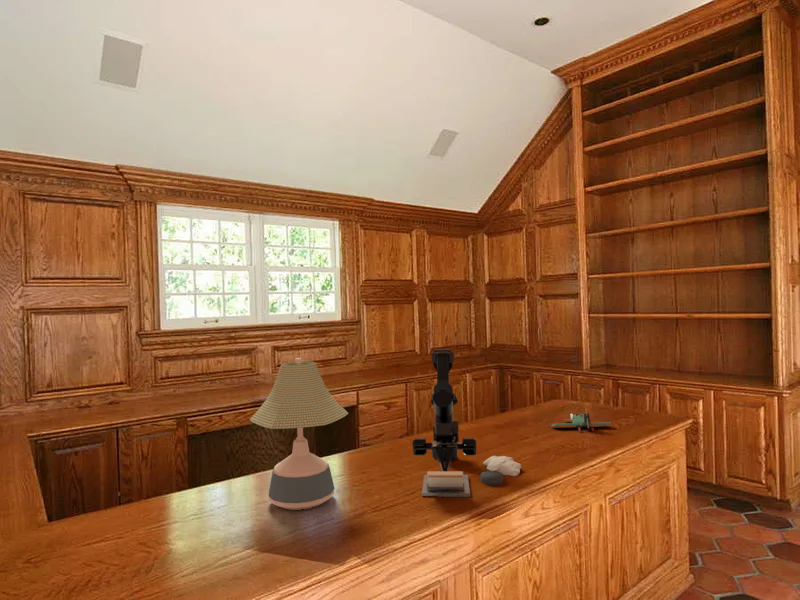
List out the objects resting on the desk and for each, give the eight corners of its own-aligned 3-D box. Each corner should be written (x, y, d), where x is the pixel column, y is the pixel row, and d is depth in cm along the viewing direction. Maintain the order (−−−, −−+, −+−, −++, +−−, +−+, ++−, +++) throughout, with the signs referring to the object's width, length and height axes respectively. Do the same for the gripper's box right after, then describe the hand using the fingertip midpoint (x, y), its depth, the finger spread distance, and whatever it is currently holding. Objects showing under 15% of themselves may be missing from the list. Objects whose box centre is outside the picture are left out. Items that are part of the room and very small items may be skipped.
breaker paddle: (427, 484, 150) (425, 470, 141) (464, 484, 149) (464, 470, 140) (427, 490, 149) (425, 476, 140) (464, 490, 148) (464, 476, 139)
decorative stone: (476, 467, 172) (506, 484, 159) (475, 457, 171) (506, 473, 158) (500, 457, 177) (531, 473, 164) (499, 447, 177) (530, 462, 164)
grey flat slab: (424, 477, 162) (424, 474, 162) (467, 477, 161) (467, 474, 161) (421, 496, 146) (421, 492, 146) (470, 496, 145) (470, 493, 145)
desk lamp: (233, 515, 136) (229, 363, 137) (290, 480, 163) (287, 353, 164) (316, 527, 128) (312, 364, 128) (362, 488, 154) (358, 353, 155)
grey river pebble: (476, 482, 157) (475, 474, 157) (490, 476, 162) (490, 469, 162) (493, 487, 152) (493, 480, 152) (508, 482, 156) (507, 474, 156)
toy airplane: (619, 431, 209) (615, 405, 211) (559, 433, 209) (556, 407, 212) (599, 431, 230) (596, 407, 233) (545, 433, 231) (543, 409, 233)
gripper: (411, 411, 149) (410, 460, 138) (475, 410, 147) (478, 459, 136) (414, 431, 157) (413, 478, 146) (474, 430, 155) (477, 478, 144)
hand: (445, 473), depth 143 cm, fingers closed
